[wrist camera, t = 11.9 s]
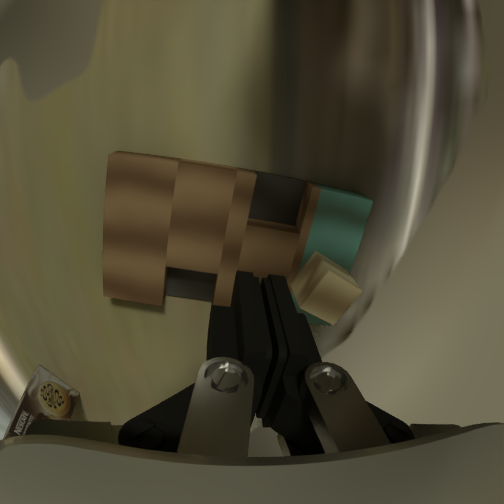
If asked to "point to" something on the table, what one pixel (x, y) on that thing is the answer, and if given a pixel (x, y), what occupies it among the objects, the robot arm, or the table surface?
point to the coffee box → (42, 402)
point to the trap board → (217, 228)
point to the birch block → (324, 288)
